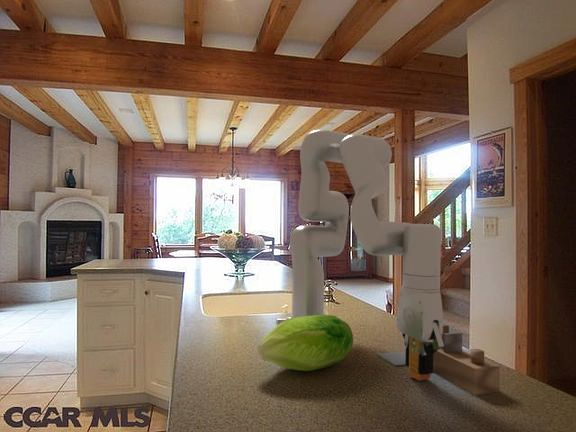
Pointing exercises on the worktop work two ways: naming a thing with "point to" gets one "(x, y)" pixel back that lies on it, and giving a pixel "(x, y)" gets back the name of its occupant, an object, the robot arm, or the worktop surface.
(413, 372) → the supplement box
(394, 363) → the mat
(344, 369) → the worktop surface
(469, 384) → the brown wooden block shape
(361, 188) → the robot arm
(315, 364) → the lettuce
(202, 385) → the worktop surface
